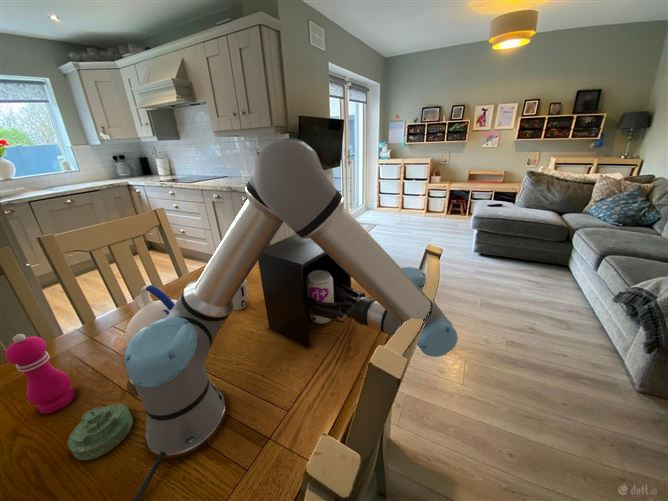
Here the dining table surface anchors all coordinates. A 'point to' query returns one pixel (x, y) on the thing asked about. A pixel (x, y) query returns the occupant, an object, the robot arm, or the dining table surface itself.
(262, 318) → the dining table surface
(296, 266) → the box
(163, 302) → the kettle
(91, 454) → the decorative artifact
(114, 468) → the dining table surface
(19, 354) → the pepper mill
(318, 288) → the supplement can
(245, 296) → the cup
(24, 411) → the dining table surface
